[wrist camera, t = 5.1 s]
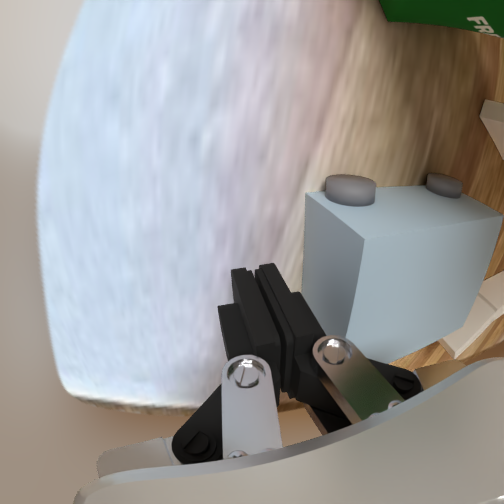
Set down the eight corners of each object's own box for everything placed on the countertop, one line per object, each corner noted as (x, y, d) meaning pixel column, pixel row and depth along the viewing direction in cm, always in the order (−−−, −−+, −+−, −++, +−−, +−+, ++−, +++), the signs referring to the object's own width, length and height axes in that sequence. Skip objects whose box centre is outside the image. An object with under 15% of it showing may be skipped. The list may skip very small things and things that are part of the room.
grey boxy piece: (304, 175, 11) (367, 216, 7) (445, 172, 12) (506, 201, 9) (297, 328, 15) (330, 392, 11) (417, 293, 17) (458, 335, 13)
